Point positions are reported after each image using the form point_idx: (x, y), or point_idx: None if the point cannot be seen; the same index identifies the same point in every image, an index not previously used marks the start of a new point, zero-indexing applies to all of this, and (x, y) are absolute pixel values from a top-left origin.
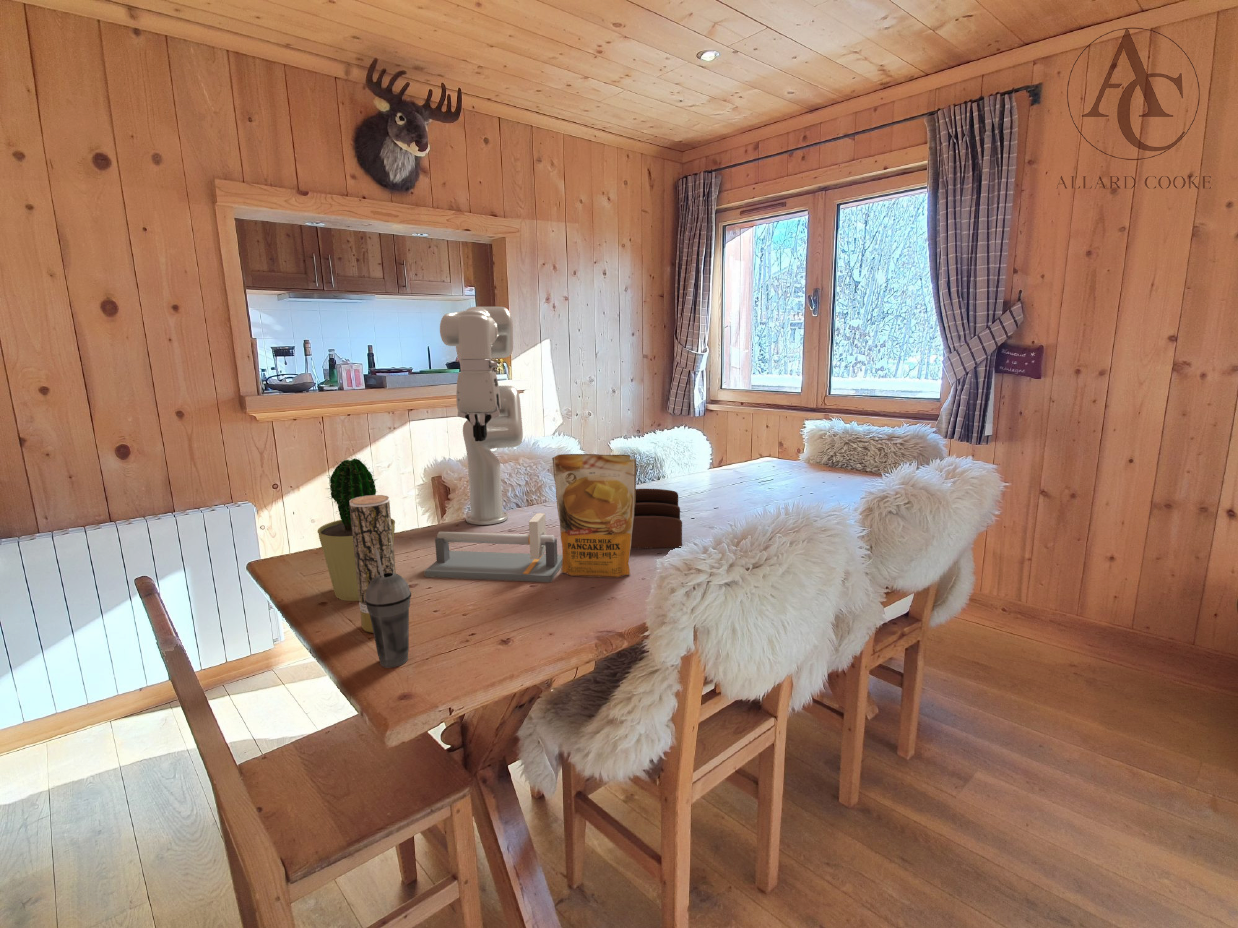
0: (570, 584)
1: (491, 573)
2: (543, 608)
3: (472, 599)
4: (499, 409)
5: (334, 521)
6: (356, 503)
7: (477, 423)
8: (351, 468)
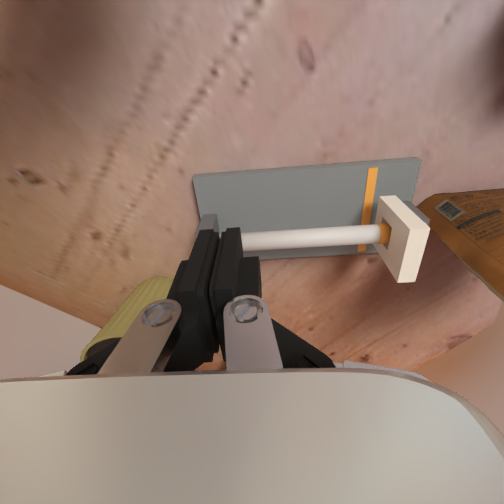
0: (425, 248)
1: (309, 256)
2: (392, 308)
3: (305, 301)
4: (454, 401)
5: (81, 361)
6: None
7: (205, 353)
8: None
